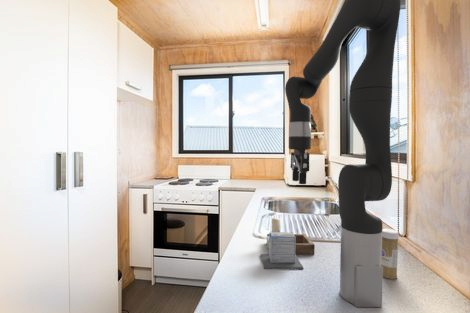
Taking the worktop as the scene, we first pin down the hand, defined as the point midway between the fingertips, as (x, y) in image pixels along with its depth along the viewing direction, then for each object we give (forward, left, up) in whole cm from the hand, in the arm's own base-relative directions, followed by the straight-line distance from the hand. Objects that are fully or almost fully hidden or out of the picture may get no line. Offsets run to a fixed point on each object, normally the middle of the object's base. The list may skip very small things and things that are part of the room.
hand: (298, 182), depth 91 cm
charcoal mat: (-6, +7, -25) cm, 27 cm away
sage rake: (+6, +7, -25) cm, 27 cm away
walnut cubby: (+6, +2, -25) cm, 26 cm away
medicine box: (-6, +7, -25) cm, 27 cm away
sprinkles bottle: (-15, -23, -26) cm, 37 cm away
